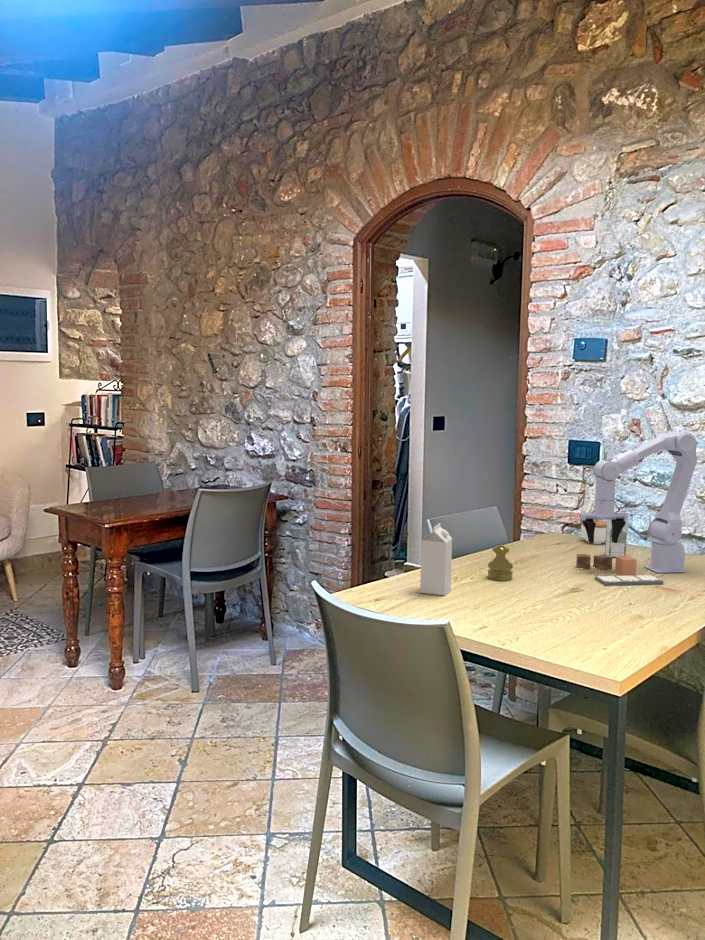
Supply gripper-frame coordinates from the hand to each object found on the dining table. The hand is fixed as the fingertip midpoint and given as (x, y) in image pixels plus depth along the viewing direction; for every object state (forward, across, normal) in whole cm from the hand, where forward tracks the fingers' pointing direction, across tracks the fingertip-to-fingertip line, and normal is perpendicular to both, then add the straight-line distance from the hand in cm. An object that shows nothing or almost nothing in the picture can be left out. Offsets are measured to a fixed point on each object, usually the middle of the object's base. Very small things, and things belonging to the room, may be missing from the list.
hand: (602, 542), depth 239 cm
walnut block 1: (+10, +3, -6) cm, 12 cm away
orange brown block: (+10, -7, +2) cm, 12 cm away
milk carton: (+9, +57, +18) cm, 61 cm away
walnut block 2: (+10, -2, -4) cm, 11 cm away
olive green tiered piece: (+10, +34, +5) cm, 36 cm away
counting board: (+9, -3, +12) cm, 16 cm away
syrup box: (+10, -14, -21) cm, 27 cm away
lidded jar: (+10, -17, -43) cm, 47 cm away
